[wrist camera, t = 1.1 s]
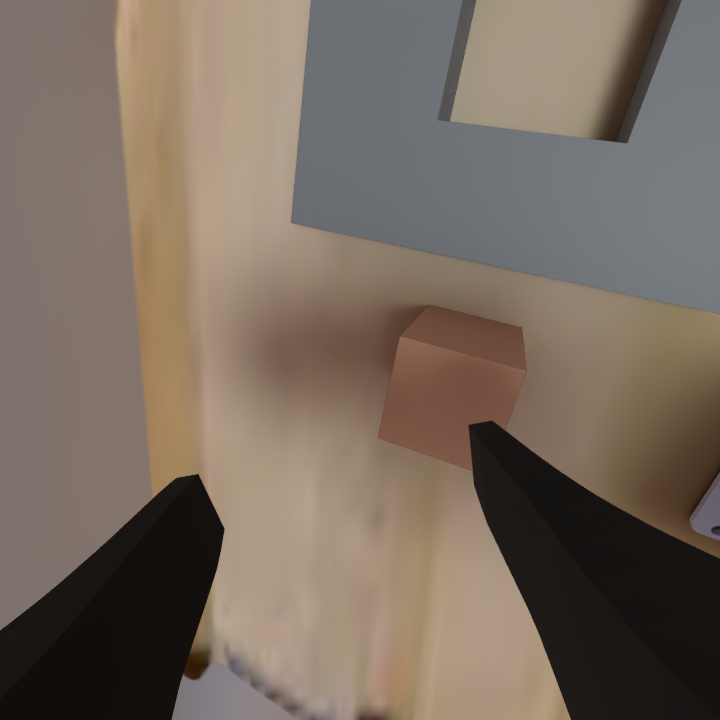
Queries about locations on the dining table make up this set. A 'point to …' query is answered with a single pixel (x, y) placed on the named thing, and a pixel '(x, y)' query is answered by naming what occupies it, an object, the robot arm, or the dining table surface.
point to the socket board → (513, 156)
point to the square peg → (451, 382)
